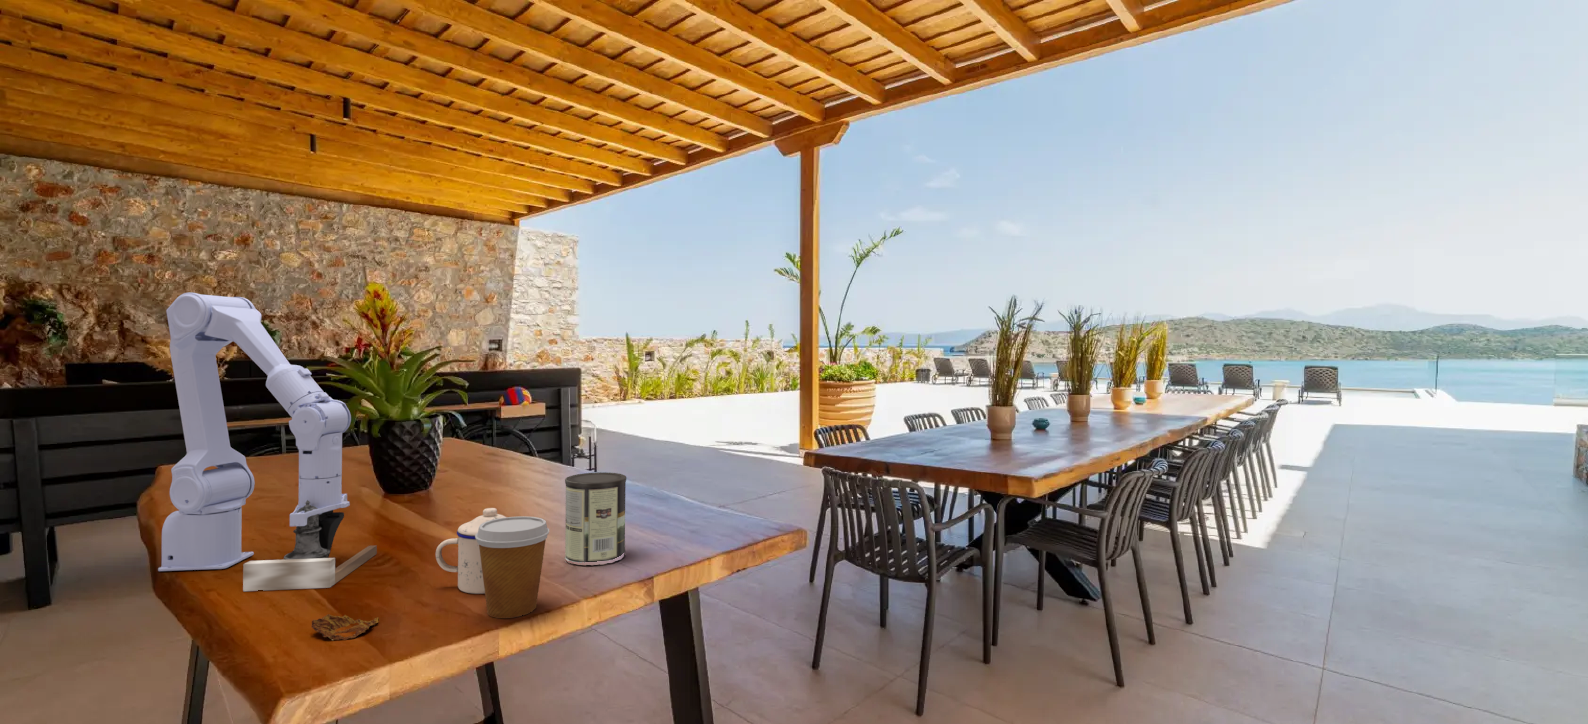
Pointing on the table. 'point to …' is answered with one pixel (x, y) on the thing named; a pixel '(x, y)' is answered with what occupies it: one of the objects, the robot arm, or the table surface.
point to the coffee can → (595, 517)
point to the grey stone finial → (308, 538)
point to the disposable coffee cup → (512, 563)
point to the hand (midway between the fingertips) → (319, 559)
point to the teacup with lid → (468, 554)
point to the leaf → (335, 622)
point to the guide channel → (300, 572)
